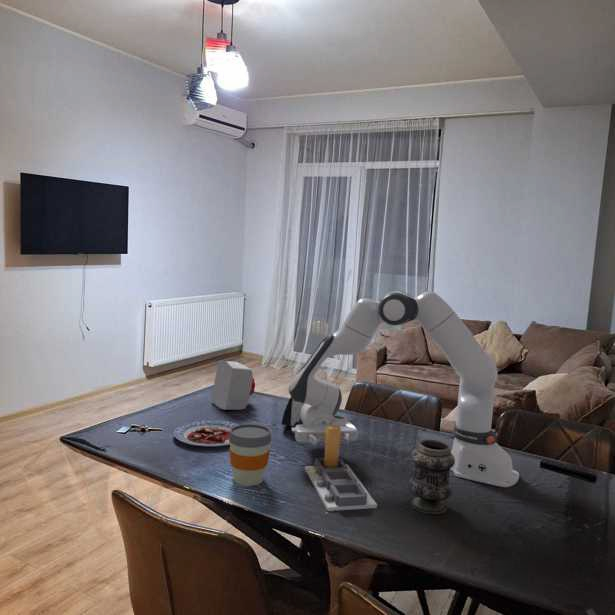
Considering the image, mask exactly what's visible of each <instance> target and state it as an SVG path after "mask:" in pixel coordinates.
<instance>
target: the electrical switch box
mask: <svg viewBox="0 0 615 615" xmlns="http://www.w3.org/2000/svg"><path fill="white" fill-rule="evenodd" d="M213 383H214V384H213V389H212V394H211V401H212V403H213V404H214V405H215V407H216V406H218V407H219V408H218V409H221V410H224V411H225V410H226V411H227V410H228V411H243V410H242V409H245V410H246V407H247V406H248V404H249V401H250V396H252V395H253V394H254V392H255V388H256V383H255V378H254V376H253V370H252V368H250V367H248V366H246V365H244V364H242V363H240V362H238V361H230V360H218V361H217V367H216V371H215V377H214V381H213Z"/></svg>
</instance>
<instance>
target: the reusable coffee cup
mask: <svg viewBox="0 0 615 615" xmlns="http://www.w3.org/2000/svg"><path fill="white" fill-rule="evenodd" d="M271 432H272V431H271V428H269V427H267V426H266V425H265V426H264V425H262V424H257V423H256V424H255V423H243V424H238V425H237V426H234V427H232V428H231V429H230V435H229V442H230V444H229V446H230V447H229V450H228V451H229V461H230V465H231V467H232V468H231V469H232V478H233V482H235V483H236V484H238V485H240V484H241V485H240V486H245V485H248V487H251V486H252V485H253V486H257V485H260V484H262V483H263V481H264V477H265V473H266V472H265V471H266V467H267V466H268V463H269V459H270V452H271V450H270V449H271V448H270V444H271V442H272V433H271Z"/></svg>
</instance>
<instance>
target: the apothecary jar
mask: <svg viewBox="0 0 615 615" xmlns="http://www.w3.org/2000/svg"><path fill="white" fill-rule="evenodd" d="M411 460H412V462H413V463H414V468H413V469H414V470H413V475H412V476H411V477H410V478H409V479H408V482H407V486H408V490H410V492H411V493H412V494H413V495H414V496H416V497H414V498H413V499H411V501H410V506H411V507H412V509H414V510H415V511H417V512H420V513H423V514H427V515H442V514H443V513H445V512H446V511H447V510H448V508H447V505H446V503H445V502H443V501H445V500H447V499H448V498H450V497H451V496H452V493H453V486H452V484H451V482H450V472H451V470H450V468H452V467H453V466H454V464H455V458H454V456H453V455H452V453H451V446H450V445H449V444H447V443H446V442H444V441H441V440H439V439H438V440H437V439H432V438H430V439H429V438H425V439H422V440H419V442H418V446H417V447H415V449H413V450H412V452H411Z"/></svg>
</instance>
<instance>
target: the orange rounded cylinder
mask: <svg viewBox="0 0 615 615" xmlns="http://www.w3.org/2000/svg"><path fill="white" fill-rule="evenodd" d="M340 431H341V428H340V427H339V426H335V425H329V426H327V427H326V440H325V442H324V444H325V445H324V457H323V458H324V468H338V458H339V459H340V457H339V455H340V443H341V441H340Z"/></svg>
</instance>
